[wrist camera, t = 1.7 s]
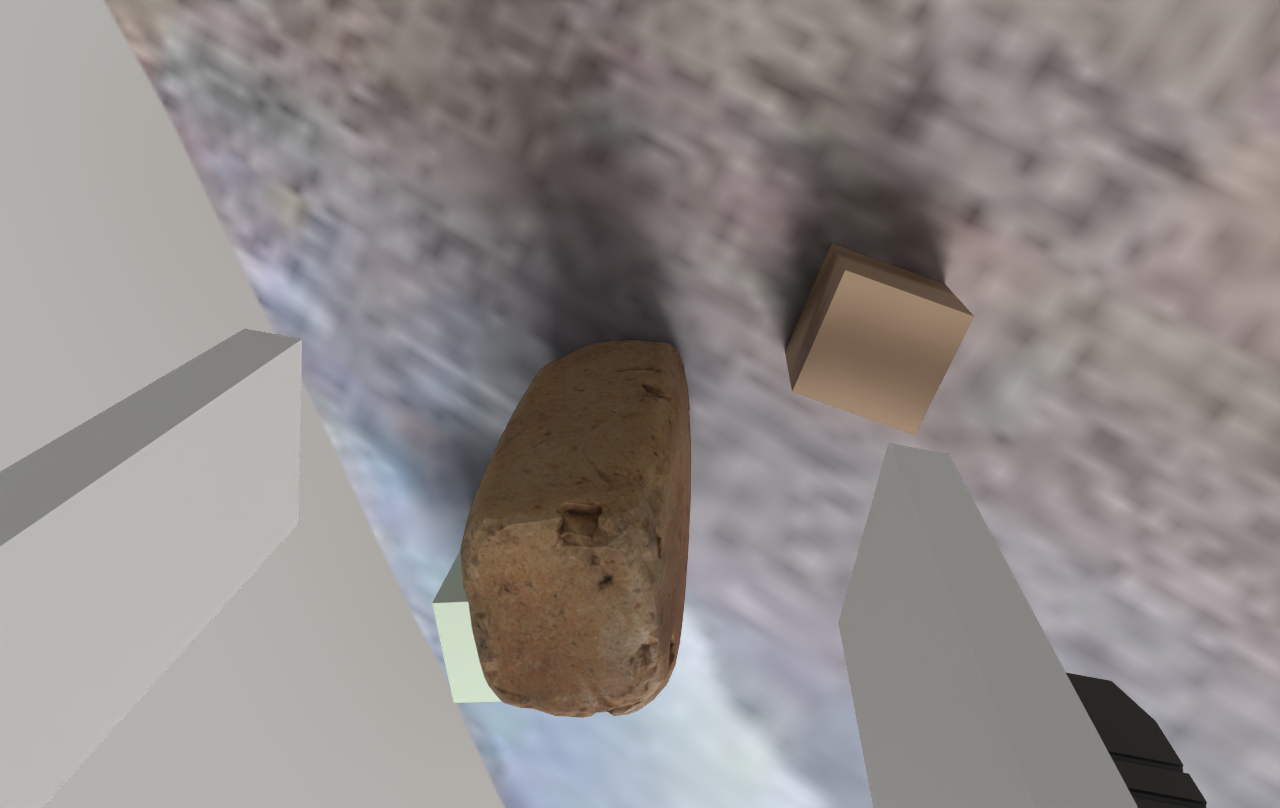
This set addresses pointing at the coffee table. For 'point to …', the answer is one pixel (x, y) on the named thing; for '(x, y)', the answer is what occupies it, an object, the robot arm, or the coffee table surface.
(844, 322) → the walnut block
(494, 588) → the pitted sandstone rock
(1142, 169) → the coffee table surface
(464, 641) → the green block
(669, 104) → the coffee table surface
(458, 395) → the coffee table surface
